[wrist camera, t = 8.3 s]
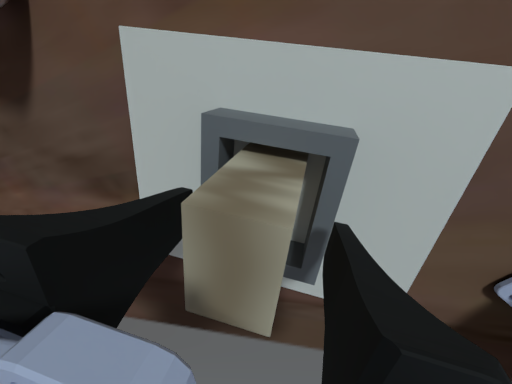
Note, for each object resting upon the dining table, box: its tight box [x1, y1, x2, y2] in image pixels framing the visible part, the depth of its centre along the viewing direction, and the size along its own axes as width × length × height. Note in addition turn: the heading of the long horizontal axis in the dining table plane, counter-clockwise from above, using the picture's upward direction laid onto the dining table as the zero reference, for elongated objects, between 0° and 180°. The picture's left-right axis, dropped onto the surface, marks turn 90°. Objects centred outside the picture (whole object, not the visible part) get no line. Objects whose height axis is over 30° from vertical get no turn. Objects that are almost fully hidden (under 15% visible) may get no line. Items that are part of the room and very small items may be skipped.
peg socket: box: [119, 26, 512, 298], centre depth 15 cm, size 20×16×3 cm
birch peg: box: [181, 142, 309, 337], centre depth 12 cm, size 4×5×8 cm
